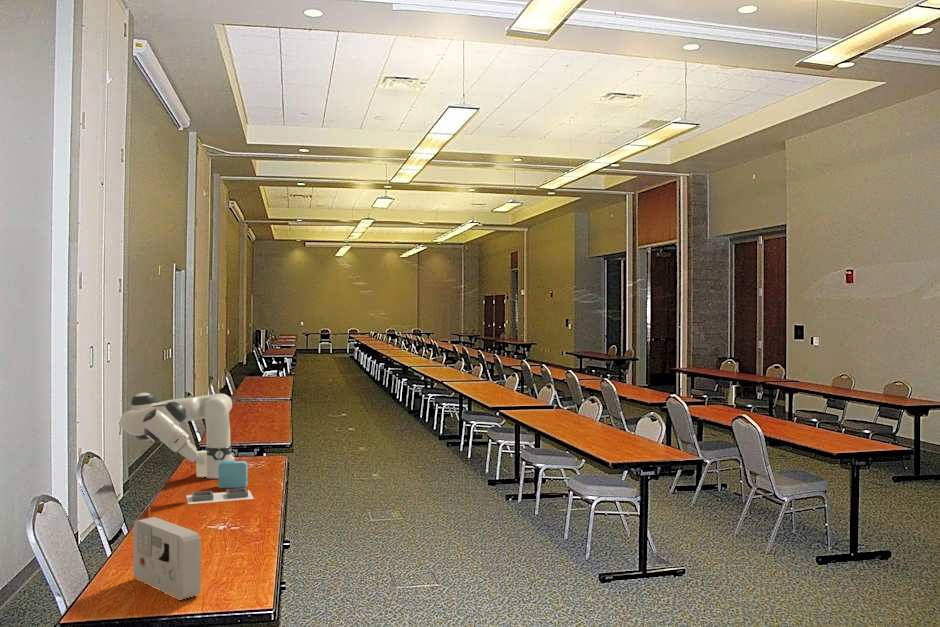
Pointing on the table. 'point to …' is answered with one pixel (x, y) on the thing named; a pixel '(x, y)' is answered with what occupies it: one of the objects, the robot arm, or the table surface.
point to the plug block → (202, 469)
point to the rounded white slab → (167, 557)
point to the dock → (219, 496)
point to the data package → (232, 474)
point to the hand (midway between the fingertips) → (203, 462)
